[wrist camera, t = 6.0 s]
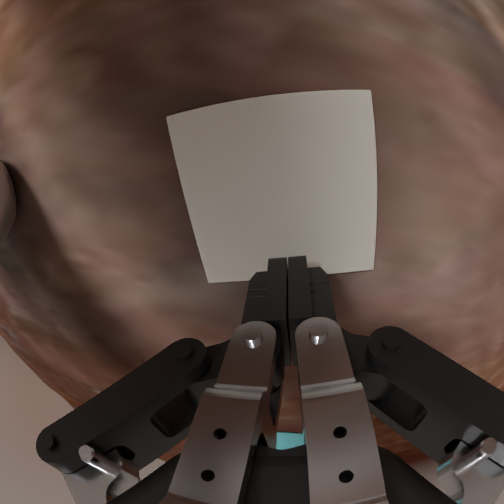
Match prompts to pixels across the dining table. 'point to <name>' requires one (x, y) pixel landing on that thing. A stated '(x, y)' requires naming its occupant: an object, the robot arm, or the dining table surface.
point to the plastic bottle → (6, 202)
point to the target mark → (288, 440)
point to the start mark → (280, 181)
